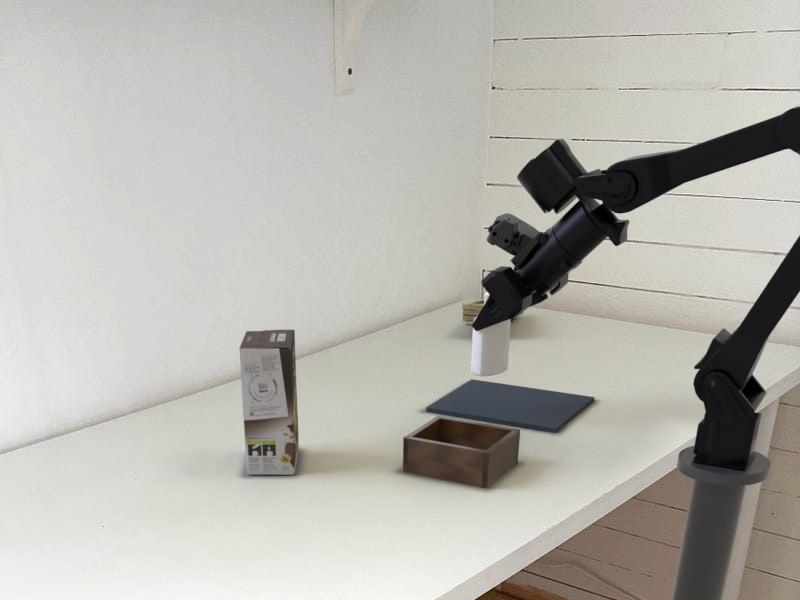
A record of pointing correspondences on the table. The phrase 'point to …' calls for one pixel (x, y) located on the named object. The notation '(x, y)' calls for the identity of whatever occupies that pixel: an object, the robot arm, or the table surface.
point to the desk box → (461, 451)
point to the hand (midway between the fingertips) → (482, 323)
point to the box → (472, 310)
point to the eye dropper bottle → (490, 348)
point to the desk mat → (512, 405)
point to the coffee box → (270, 401)
